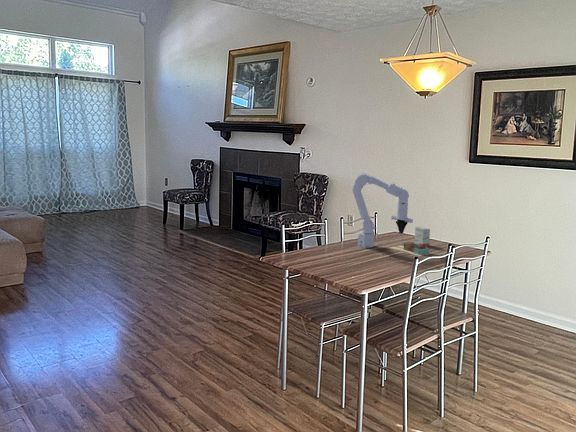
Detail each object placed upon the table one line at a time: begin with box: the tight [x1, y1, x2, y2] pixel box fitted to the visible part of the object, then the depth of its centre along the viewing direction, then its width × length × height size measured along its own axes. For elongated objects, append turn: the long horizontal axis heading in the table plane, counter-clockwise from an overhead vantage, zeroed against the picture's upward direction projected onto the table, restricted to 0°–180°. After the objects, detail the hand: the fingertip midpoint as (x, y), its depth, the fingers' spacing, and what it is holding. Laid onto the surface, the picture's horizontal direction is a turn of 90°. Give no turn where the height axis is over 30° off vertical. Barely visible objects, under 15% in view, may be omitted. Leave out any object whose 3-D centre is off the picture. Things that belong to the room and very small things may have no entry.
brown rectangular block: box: [403, 241, 425, 252], centre depth 289 cm, size 12×4×4 cm, turn 36°
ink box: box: [413, 226, 431, 248], centre depth 305 cm, size 9×5×12 cm, turn 22°
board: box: [388, 244, 433, 257], centre depth 291 cm, size 13×23×1 cm, turn 36°
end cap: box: [414, 247, 430, 256], centre depth 284 cm, size 8×4×3 cm, turn 126°
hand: (401, 233), depth 296 cm, fingers closed
